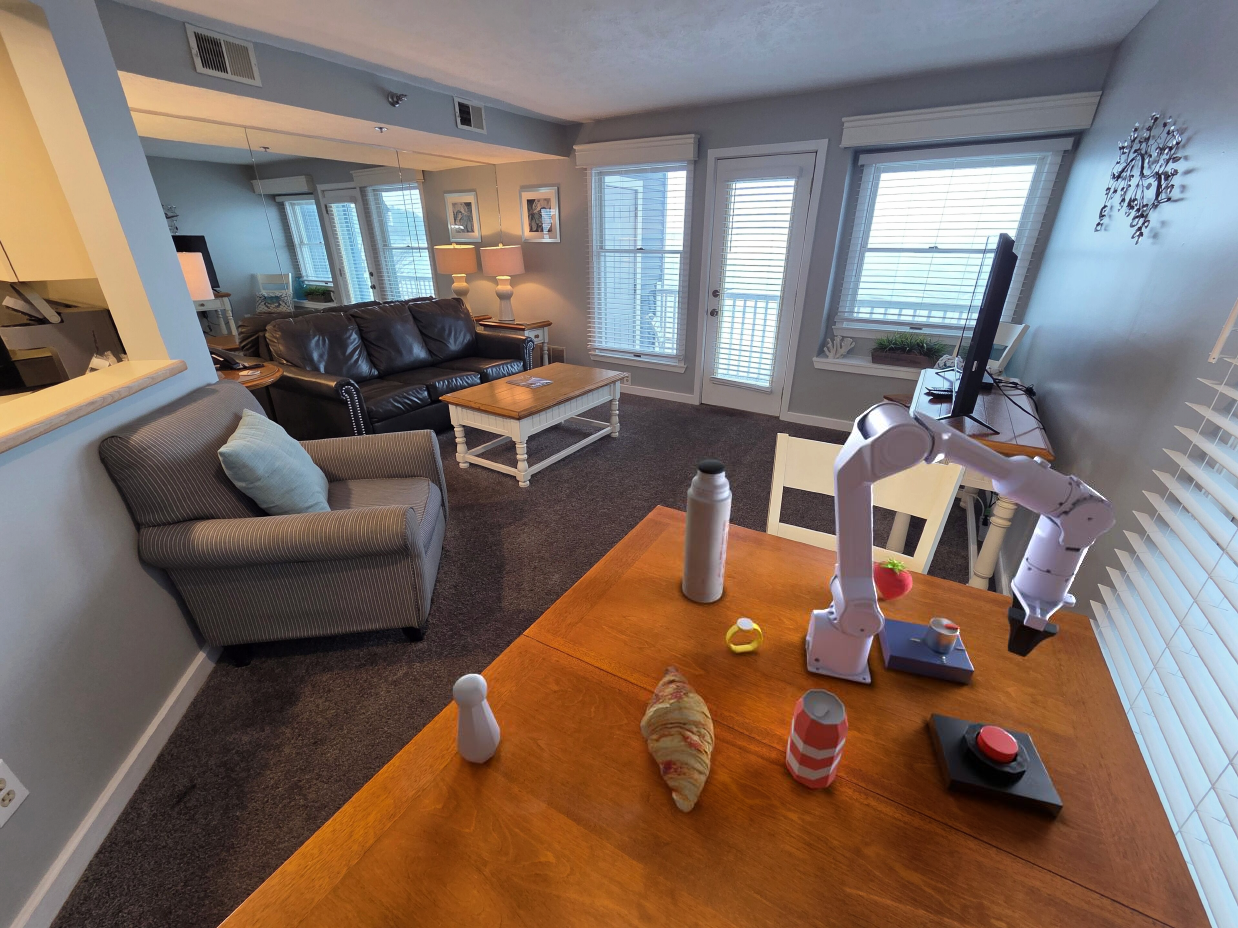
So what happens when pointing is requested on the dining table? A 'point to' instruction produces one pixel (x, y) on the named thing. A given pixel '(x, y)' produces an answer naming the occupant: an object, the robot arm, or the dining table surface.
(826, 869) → the dining table surface
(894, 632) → the dial panel
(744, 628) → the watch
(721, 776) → the dining table surface
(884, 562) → the strawberry
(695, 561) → the thermos bottle
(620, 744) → the dining table surface
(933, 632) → the dial knob
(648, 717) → the croissant
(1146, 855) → the dining table surface
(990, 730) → the button
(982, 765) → the button box
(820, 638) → the robot arm
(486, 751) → the salt shaker
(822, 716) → the beverage can
